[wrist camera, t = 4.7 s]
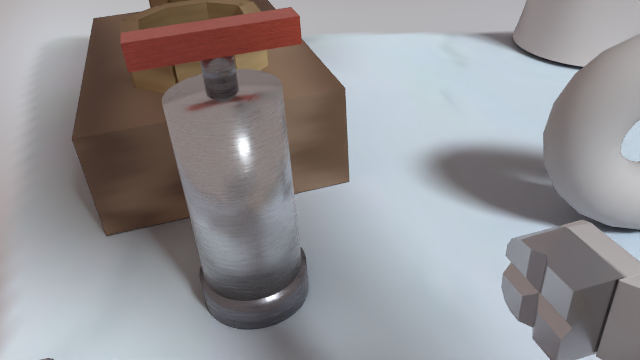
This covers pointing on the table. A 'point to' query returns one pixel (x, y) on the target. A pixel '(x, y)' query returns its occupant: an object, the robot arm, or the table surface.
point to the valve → (233, 161)
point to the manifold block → (151, 126)
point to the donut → (598, 138)
